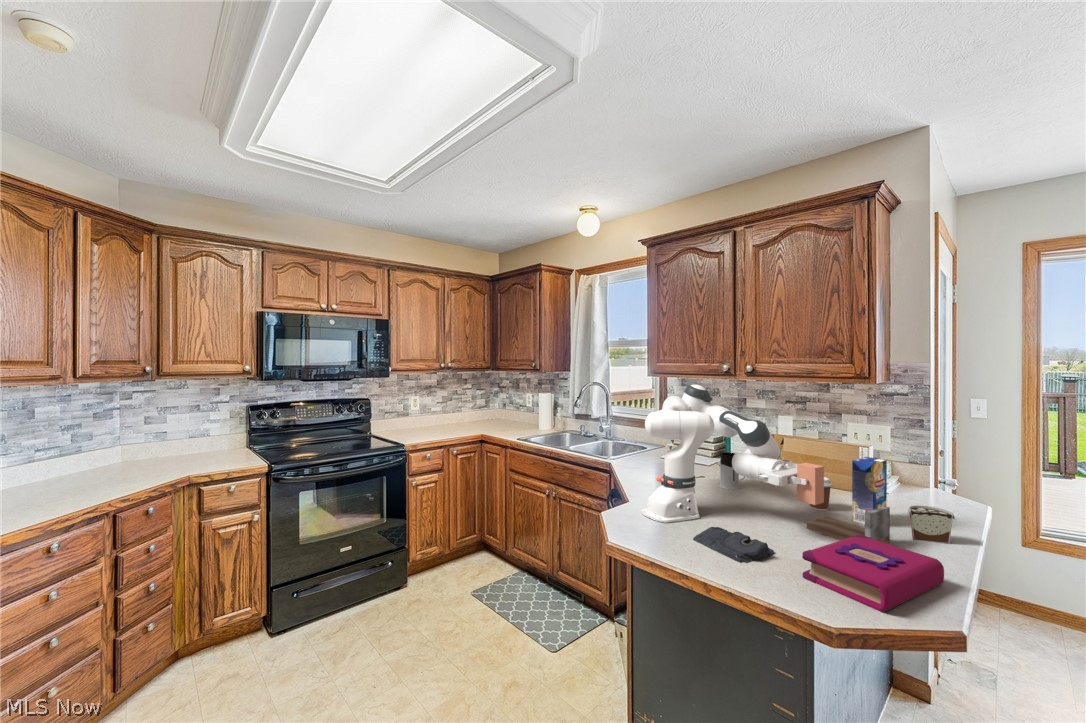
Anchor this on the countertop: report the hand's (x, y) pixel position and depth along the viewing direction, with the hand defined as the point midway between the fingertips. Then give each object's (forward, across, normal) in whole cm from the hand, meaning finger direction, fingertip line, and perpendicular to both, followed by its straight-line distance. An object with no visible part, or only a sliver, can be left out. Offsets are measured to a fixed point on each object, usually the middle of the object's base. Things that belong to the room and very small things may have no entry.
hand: (813, 480), depth 152 cm
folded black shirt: (-9, -28, +20) cm, 36 cm away
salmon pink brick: (-1, 0, +7) cm, 7 cm away
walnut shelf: (+4, +13, +19) cm, 23 cm away
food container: (+19, +32, +19) cm, 42 cm away
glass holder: (-51, +27, +19) cm, 61 cm away
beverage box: (+1, +34, +19) cm, 39 cm away
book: (+24, -16, +20) cm, 35 cm away
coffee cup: (-16, +32, +19) cm, 40 cm away
